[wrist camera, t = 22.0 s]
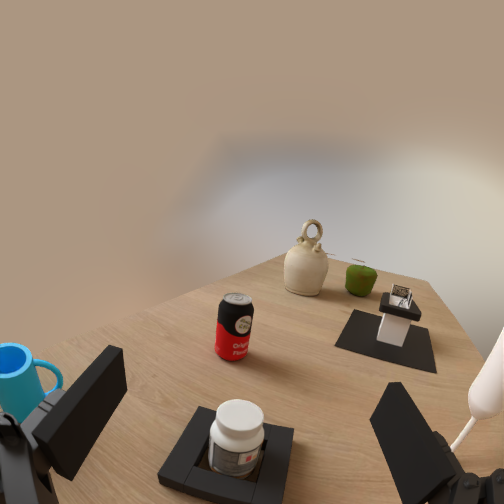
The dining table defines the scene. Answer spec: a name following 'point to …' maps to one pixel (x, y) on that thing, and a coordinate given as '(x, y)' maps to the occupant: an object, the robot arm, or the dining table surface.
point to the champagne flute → (486, 391)
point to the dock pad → (220, 486)
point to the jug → (306, 264)
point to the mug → (22, 380)
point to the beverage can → (233, 326)
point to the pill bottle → (236, 438)
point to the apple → (360, 279)
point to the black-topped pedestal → (390, 333)
